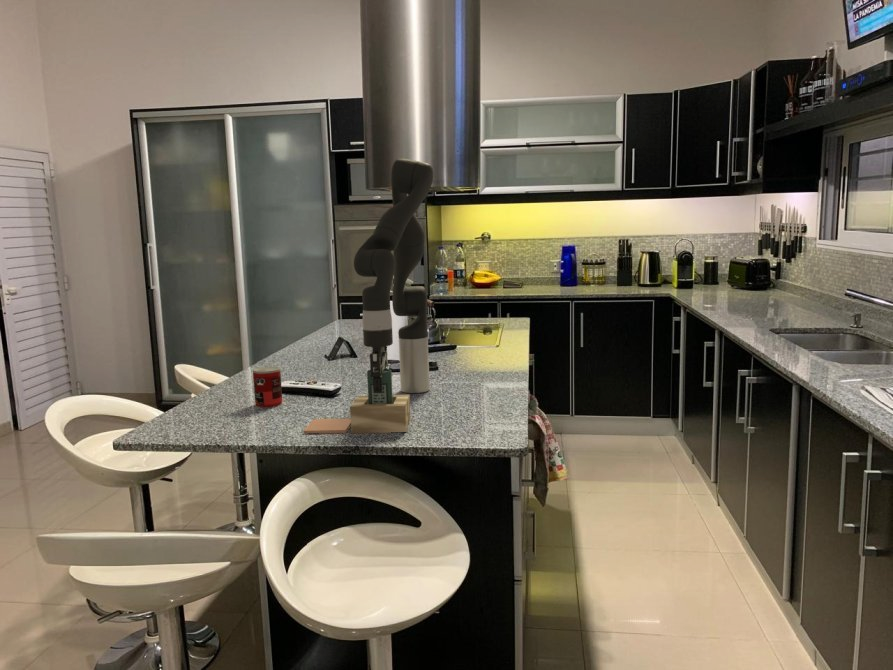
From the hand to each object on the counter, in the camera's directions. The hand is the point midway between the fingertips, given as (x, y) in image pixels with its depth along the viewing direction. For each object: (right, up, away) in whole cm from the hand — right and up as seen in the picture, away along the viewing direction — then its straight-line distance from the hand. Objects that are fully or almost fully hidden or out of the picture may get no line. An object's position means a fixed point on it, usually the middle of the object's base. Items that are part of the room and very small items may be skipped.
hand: (380, 388), depth 184 cm
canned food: (-36, -7, +29) cm, 47 cm away
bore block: (0, -10, +2) cm, 10 cm away
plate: (-14, -10, +2) cm, 17 cm away
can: (0, -10, +2) cm, 10 cm away
